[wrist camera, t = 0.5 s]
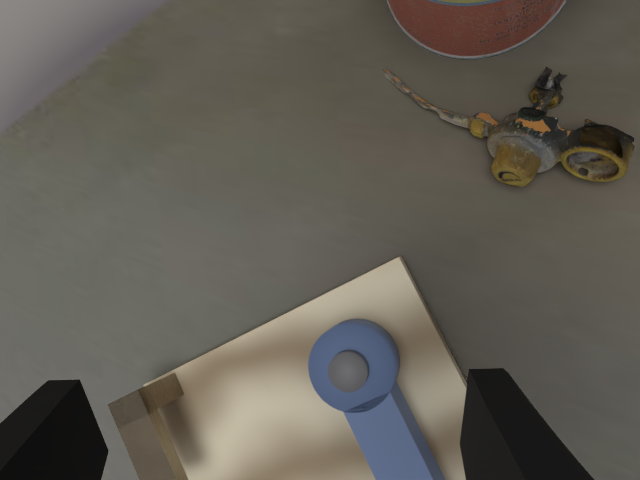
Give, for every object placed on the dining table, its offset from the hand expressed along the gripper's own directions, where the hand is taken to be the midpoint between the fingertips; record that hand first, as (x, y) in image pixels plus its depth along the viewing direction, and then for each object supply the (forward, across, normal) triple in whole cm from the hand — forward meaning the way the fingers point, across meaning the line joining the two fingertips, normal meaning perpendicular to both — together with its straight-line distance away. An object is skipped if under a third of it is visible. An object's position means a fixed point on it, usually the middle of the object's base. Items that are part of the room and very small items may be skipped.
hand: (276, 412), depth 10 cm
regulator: (+24, -11, +3) cm, 26 cm away
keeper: (+18, +10, +21) cm, 30 cm away
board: (+15, 0, +22) cm, 27 cm away
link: (+14, -5, +20) cm, 24 cm away
